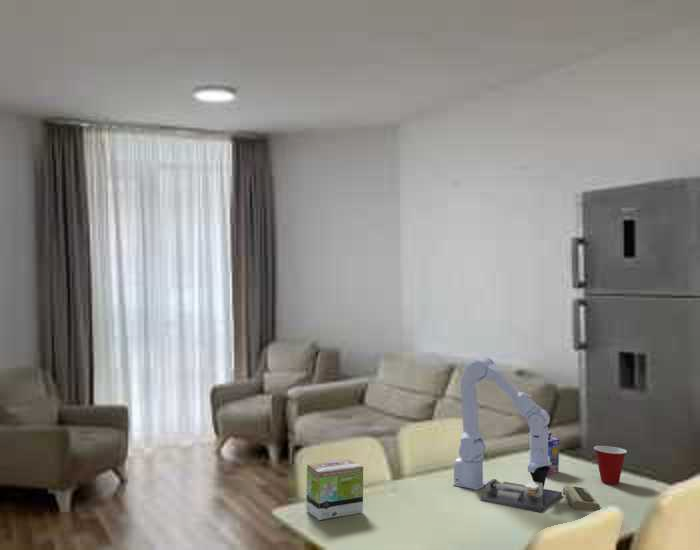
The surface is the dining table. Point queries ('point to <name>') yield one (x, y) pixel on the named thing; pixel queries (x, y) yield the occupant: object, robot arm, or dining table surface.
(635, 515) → the dining table surface
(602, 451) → the plastic cup
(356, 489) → the tea box
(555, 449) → the ink cartridge box
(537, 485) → the block
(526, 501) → the base
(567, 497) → the computer
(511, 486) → the grey flat bar
